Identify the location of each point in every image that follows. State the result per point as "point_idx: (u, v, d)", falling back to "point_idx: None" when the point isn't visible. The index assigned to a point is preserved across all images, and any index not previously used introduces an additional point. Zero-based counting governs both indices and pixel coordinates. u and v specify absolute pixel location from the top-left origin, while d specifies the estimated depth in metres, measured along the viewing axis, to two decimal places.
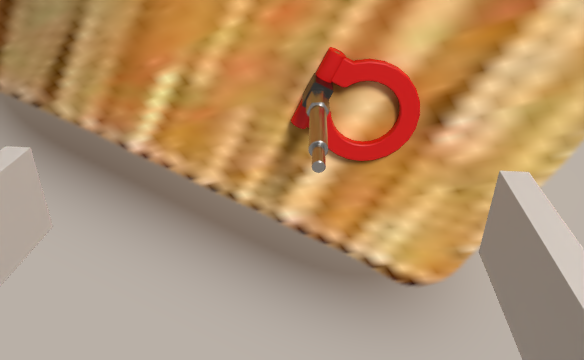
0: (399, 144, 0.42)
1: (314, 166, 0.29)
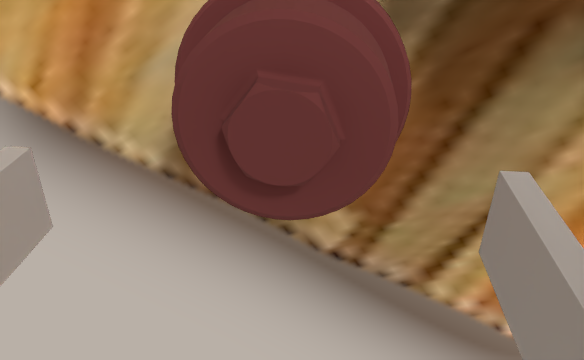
0: None
1: None
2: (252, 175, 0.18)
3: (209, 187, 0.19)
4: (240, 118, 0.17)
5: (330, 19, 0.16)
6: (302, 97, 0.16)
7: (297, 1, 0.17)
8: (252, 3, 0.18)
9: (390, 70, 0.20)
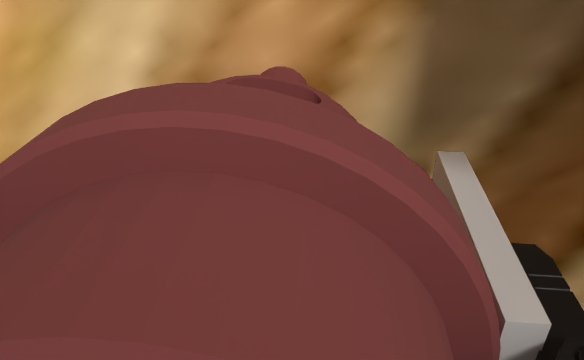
0: None
1: None
2: None
3: None
4: None
5: None
6: None
7: (188, 242, 0.05)
8: (68, 221, 0.06)
9: (452, 337, 0.08)
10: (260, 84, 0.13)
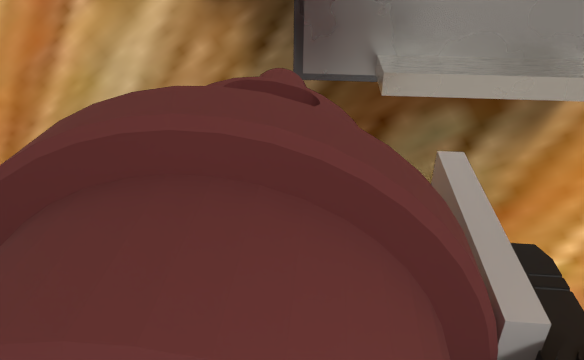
0: None
1: None
2: None
3: None
4: None
5: None
6: None
7: (185, 246, 0.05)
8: (66, 225, 0.06)
9: (450, 340, 0.08)
10: (259, 86, 0.13)
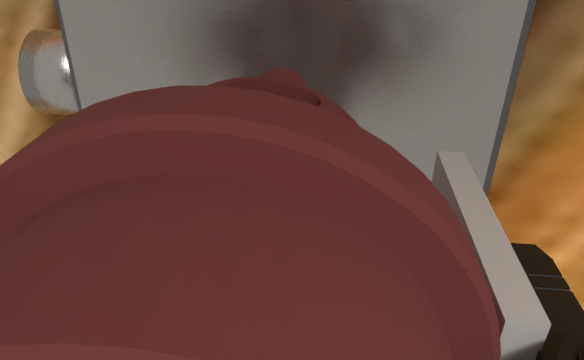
0: None
1: None
2: None
3: None
4: None
5: None
6: None
7: (187, 247, 0.05)
8: (67, 225, 0.06)
9: (452, 341, 0.08)
10: (260, 85, 0.13)
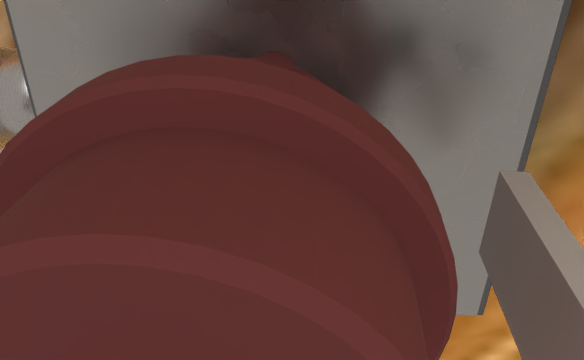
0: None
1: None
2: None
3: None
4: None
5: (259, 261, 0.06)
6: None
7: (186, 175, 0.07)
8: (88, 164, 0.07)
9: (415, 274, 0.09)
10: None
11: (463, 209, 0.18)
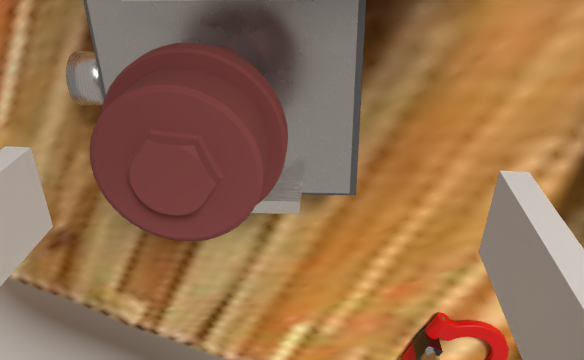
0: None
1: None
2: (153, 208, 0.23)
3: (126, 218, 0.25)
4: (137, 166, 0.22)
5: (199, 91, 0.21)
6: (181, 149, 0.21)
7: (180, 75, 0.22)
8: (149, 76, 0.23)
9: (266, 120, 0.25)
10: None
11: (330, 127, 0.34)
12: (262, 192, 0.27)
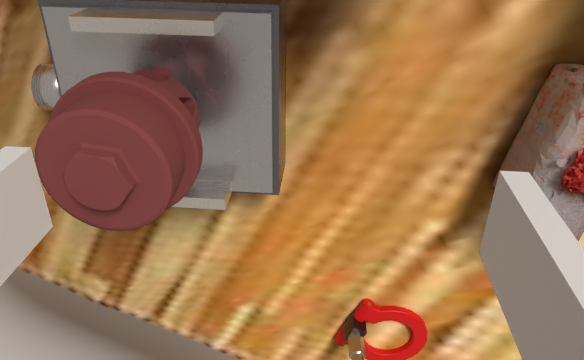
0: (412, 354, 0.59)
1: None
2: (83, 204, 0.29)
3: (66, 210, 0.31)
4: (70, 171, 0.28)
5: (117, 115, 0.27)
6: (103, 159, 0.27)
7: (106, 100, 0.28)
8: (83, 99, 0.29)
9: (180, 136, 0.31)
10: (148, 73, 0.36)
11: (253, 137, 0.40)
12: (181, 192, 0.33)
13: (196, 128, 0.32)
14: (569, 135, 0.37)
